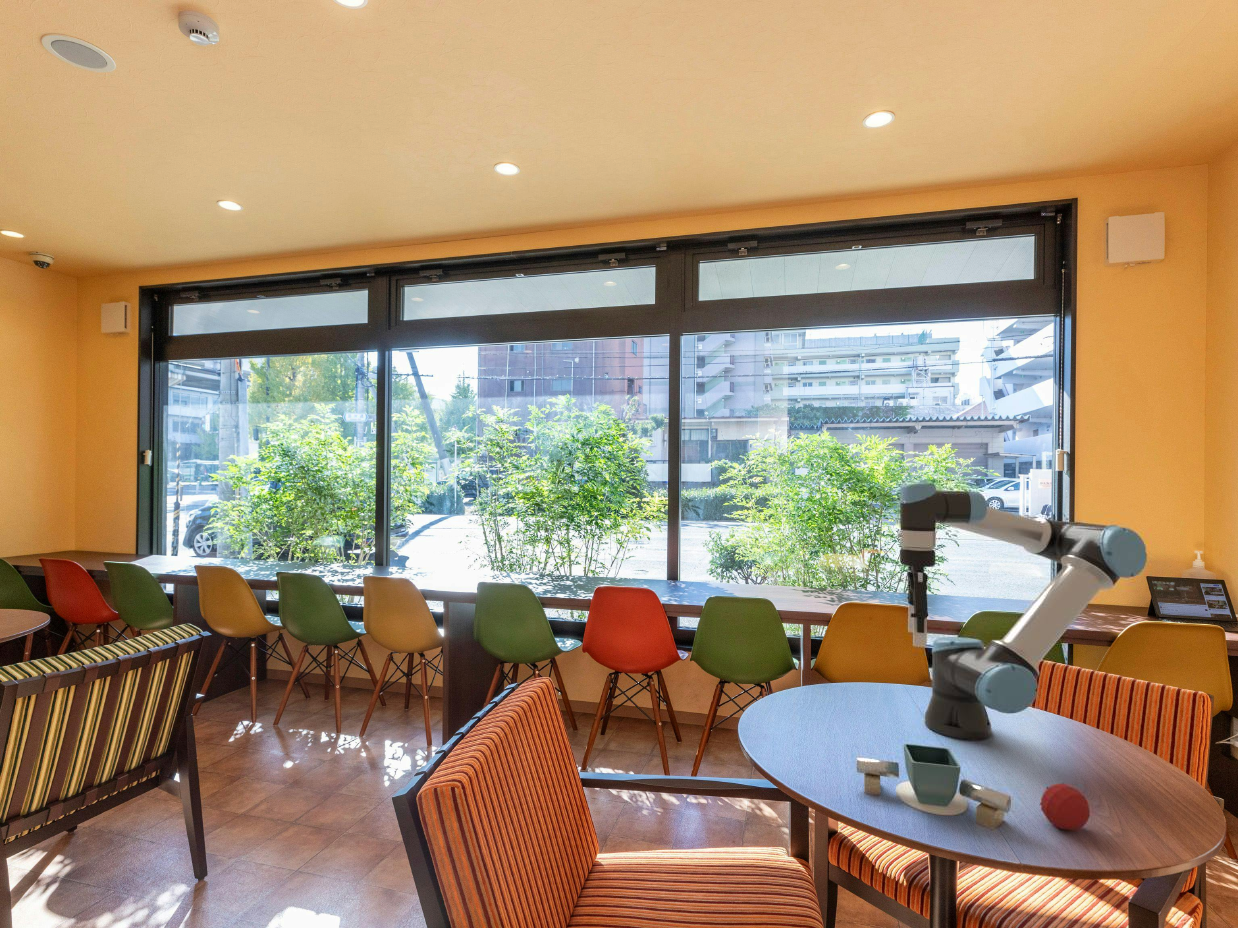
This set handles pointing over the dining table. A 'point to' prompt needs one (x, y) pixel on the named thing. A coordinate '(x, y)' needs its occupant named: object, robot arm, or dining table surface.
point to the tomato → (1065, 807)
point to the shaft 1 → (876, 772)
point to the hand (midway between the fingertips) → (917, 639)
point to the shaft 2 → (986, 803)
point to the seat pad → (909, 798)
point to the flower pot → (932, 773)
